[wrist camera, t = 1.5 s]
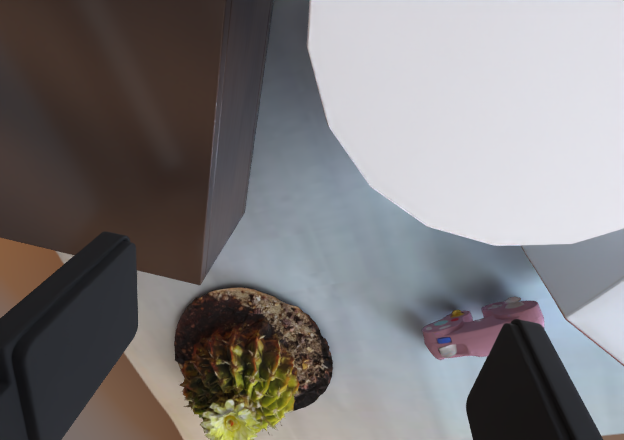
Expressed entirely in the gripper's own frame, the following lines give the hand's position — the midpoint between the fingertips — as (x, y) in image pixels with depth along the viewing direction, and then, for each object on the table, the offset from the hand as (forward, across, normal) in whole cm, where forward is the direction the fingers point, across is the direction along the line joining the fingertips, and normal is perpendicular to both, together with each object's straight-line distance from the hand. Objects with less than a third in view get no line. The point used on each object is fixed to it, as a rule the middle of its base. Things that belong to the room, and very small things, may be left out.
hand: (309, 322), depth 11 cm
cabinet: (+24, +14, +2) cm, 28 cm away
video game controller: (+24, -15, +15) cm, 32 cm away
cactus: (+24, +4, +26) cm, 36 cm away
